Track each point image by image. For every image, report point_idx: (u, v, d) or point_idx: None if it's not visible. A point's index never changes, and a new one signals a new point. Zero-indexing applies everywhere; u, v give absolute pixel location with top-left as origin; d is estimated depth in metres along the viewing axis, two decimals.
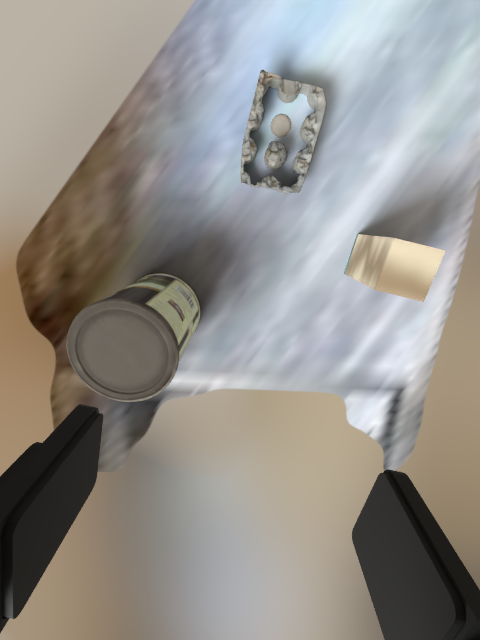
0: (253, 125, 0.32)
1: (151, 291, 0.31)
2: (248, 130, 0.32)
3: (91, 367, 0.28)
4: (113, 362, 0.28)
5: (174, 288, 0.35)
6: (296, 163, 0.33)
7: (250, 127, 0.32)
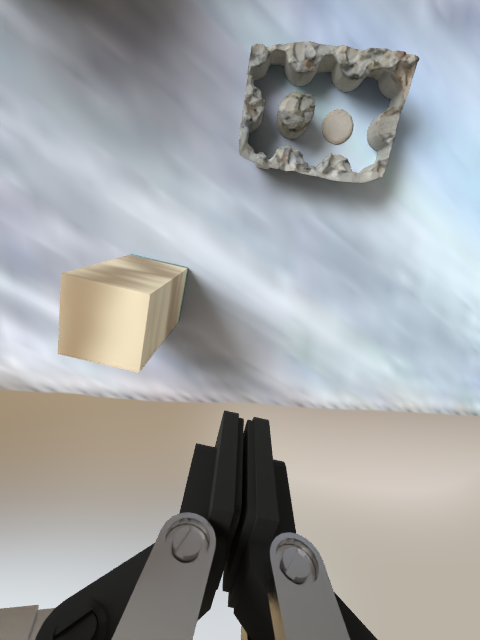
0: (339, 57, 0.19)
1: None
2: (332, 51, 0.19)
3: None
4: None
5: None
6: (282, 148, 0.21)
7: (336, 53, 0.19)
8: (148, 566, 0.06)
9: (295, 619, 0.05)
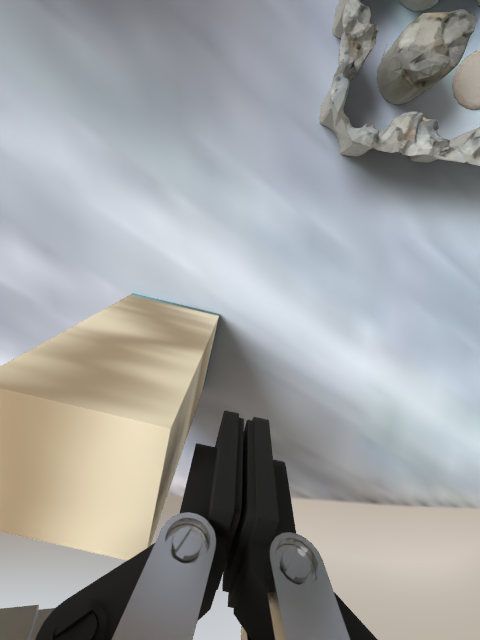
0: None
1: None
2: None
3: None
4: None
5: None
6: (406, 115, 0.12)
7: None
8: (148, 566, 0.06)
9: (295, 619, 0.05)
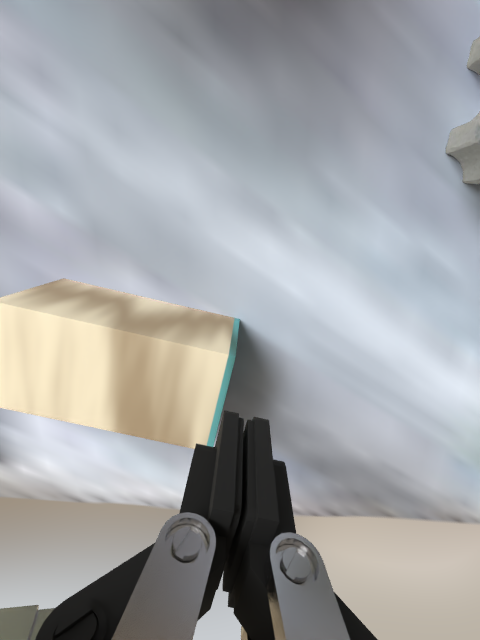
0: None
1: None
2: None
3: None
4: None
5: None
6: None
7: None
8: (148, 566, 0.06)
9: (295, 619, 0.05)
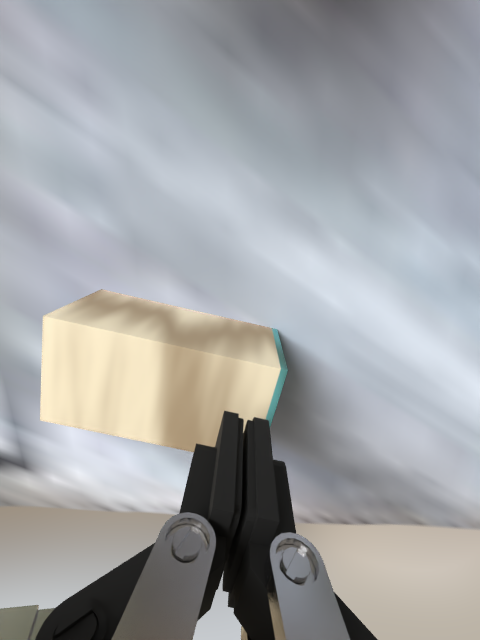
0: None
1: None
2: None
3: None
4: None
5: None
6: None
7: None
8: (148, 566, 0.06)
9: (295, 619, 0.05)
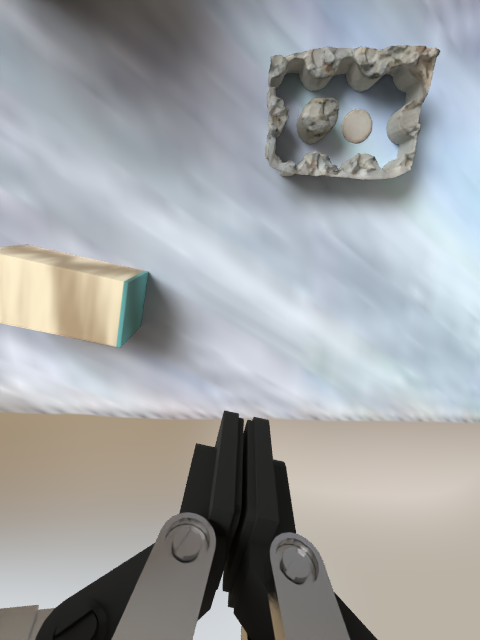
0: (359, 59, 0.19)
1: None
2: (350, 53, 0.19)
3: None
4: None
5: None
6: (310, 153, 0.21)
7: (355, 55, 0.19)
8: (148, 566, 0.06)
9: (295, 619, 0.05)
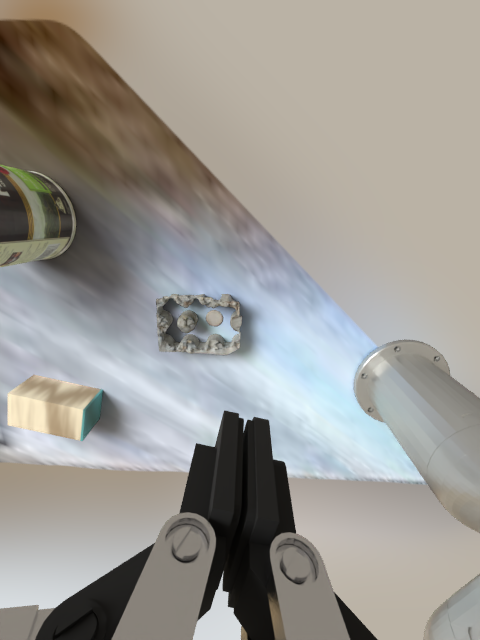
0: (200, 302, 0.37)
1: (21, 234, 0.28)
2: (197, 297, 0.37)
3: None
4: None
5: (49, 244, 0.33)
6: (182, 342, 0.39)
7: (199, 299, 0.37)
8: (148, 566, 0.06)
9: (295, 619, 0.05)
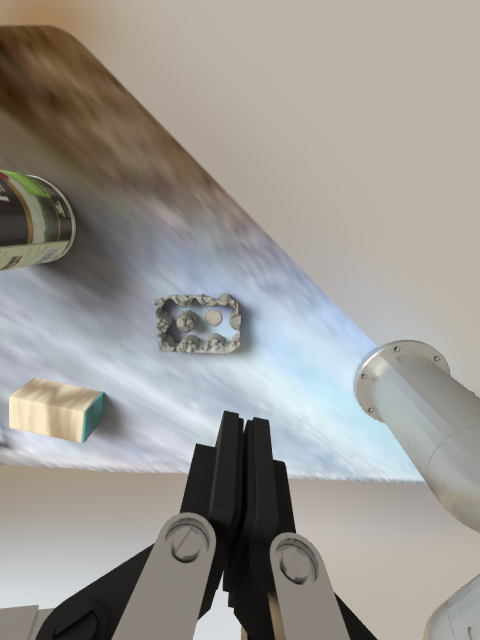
0: (199, 301, 0.37)
1: (21, 238, 0.29)
2: (195, 297, 0.37)
3: None
4: None
5: (49, 247, 0.34)
6: (182, 342, 0.39)
7: (197, 299, 0.37)
8: (148, 566, 0.06)
9: (295, 619, 0.05)
